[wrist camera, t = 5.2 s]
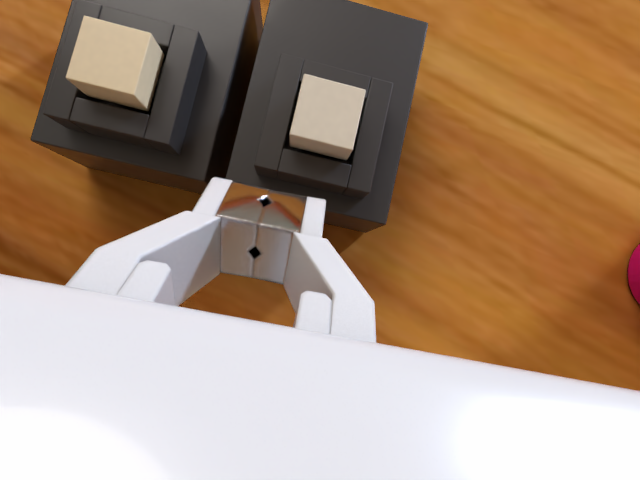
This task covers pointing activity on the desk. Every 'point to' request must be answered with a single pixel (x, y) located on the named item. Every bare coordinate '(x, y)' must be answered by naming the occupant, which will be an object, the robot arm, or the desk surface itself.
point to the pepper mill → (635, 273)
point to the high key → (115, 63)
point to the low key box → (339, 66)
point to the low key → (326, 117)
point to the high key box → (159, 93)
